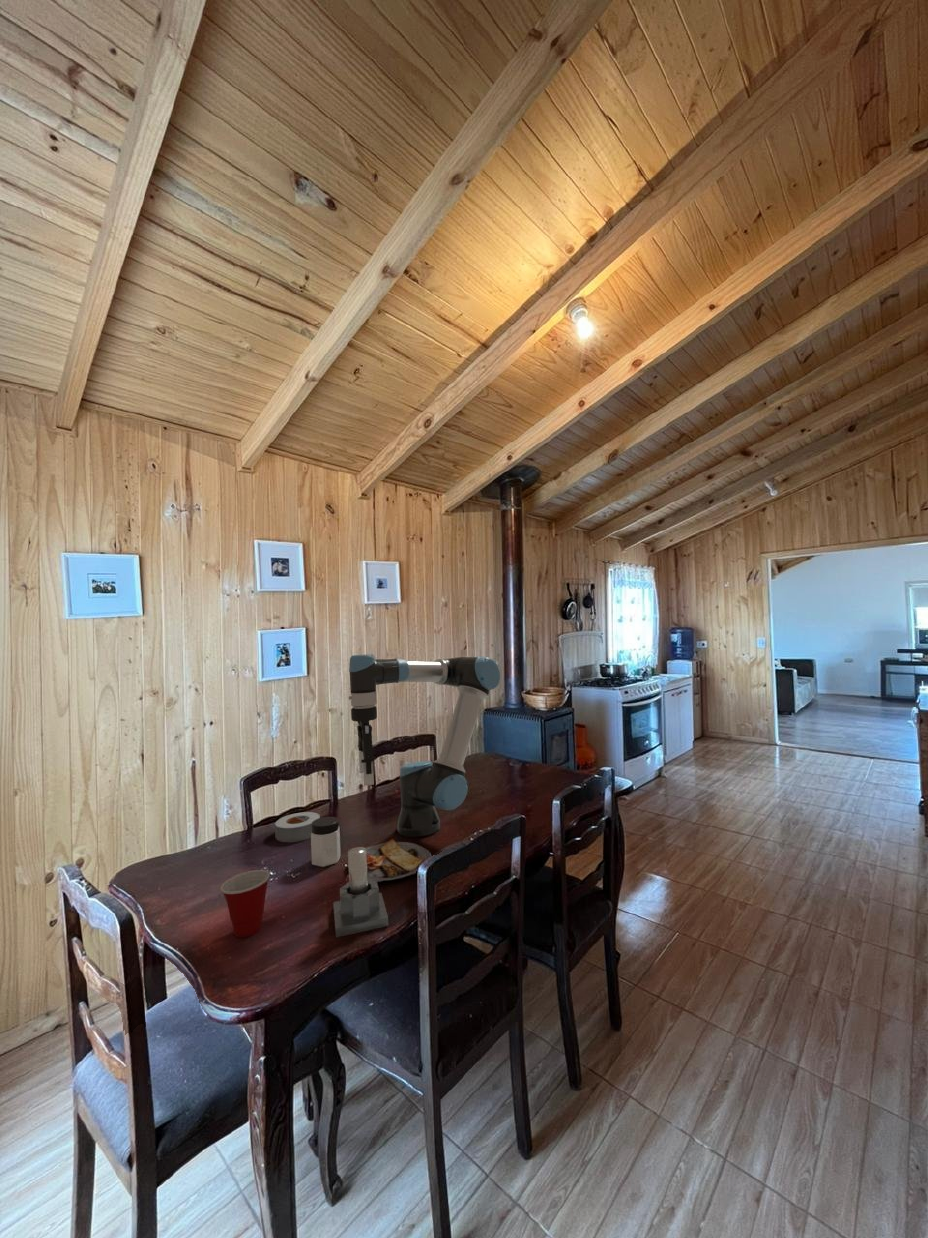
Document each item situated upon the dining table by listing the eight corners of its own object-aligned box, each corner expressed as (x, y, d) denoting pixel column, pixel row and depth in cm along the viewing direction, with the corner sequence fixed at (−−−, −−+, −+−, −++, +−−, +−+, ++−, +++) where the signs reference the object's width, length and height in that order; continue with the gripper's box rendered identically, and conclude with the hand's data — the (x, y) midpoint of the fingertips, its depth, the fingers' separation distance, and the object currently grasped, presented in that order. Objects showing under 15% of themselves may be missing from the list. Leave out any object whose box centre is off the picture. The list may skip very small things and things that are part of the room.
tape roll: (265, 841, 169) (265, 826, 169) (293, 824, 183) (292, 810, 183) (303, 844, 164) (303, 829, 164) (328, 827, 179) (328, 813, 179)
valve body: (379, 892, 130) (378, 865, 130) (388, 926, 114) (387, 895, 115) (333, 901, 126) (332, 874, 127) (335, 937, 111) (334, 906, 111)
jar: (315, 869, 145) (314, 829, 145) (308, 860, 151) (306, 821, 152) (344, 861, 150) (343, 821, 150) (336, 852, 156) (334, 814, 157)
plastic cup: (240, 916, 122) (239, 867, 122) (280, 918, 120) (278, 868, 120) (211, 943, 111) (209, 889, 111) (254, 946, 109) (252, 891, 110)
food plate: (336, 862, 149) (336, 851, 149) (403, 841, 163) (403, 831, 163) (372, 897, 129) (372, 884, 129) (445, 870, 142) (445, 858, 142)
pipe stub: (367, 902, 121) (365, 845, 122) (370, 911, 117) (367, 853, 118) (349, 906, 120) (347, 849, 120) (351, 916, 116) (348, 856, 116)
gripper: (347, 702, 155) (350, 769, 155) (354, 713, 132) (357, 792, 131) (371, 700, 158) (374, 766, 157) (382, 710, 134) (385, 788, 133)
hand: (366, 778), depth 144 cm, fingers open, 13 cm apart
